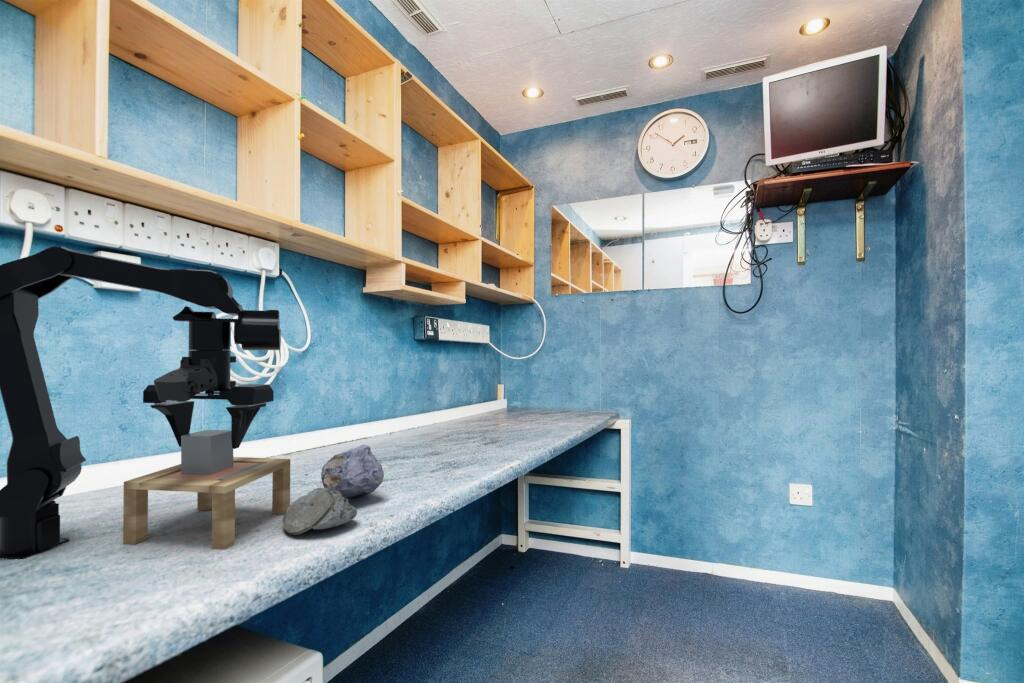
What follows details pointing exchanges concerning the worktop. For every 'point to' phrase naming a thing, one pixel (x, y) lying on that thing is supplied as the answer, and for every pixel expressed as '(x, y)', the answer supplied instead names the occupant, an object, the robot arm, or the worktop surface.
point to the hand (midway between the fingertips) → (209, 447)
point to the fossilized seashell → (318, 511)
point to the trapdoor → (219, 476)
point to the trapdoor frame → (204, 497)
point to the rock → (353, 472)
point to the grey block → (206, 452)
